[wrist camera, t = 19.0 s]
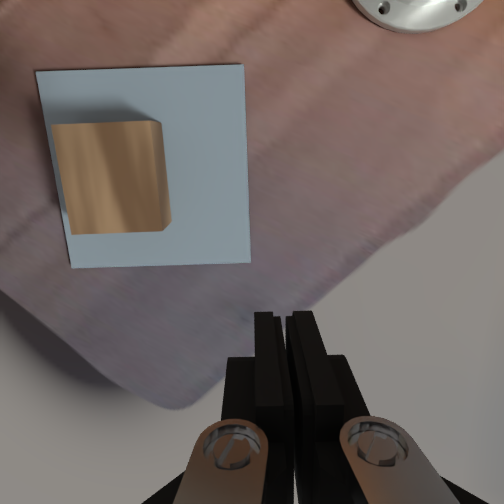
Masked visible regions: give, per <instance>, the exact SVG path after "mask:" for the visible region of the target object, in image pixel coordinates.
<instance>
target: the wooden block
mask: <svg viewBox="0 0 504 504" xmlns="http://www.w3.org/2000/svg"><path fill="white" fill-rule="evenodd" d="M51 128H52V134H53V139H54V145H55V150H56V155H57V161H58V166H59V171H60V177H61V182H62V187H63V193H64V198H65V203H66V209H67V214H68V219H69V225H70V230H71V235H81V234H107V233H132V232H158V231H163V230H164V229H165V228H166V227H167V226H168V225H169V224H170V223H171V222H172V219H171V209H170V200H169V190H168V181H167V171H166V161H165V152H164V142H163V133H162V123H160V122H155V121H127V122H104V123H80V124H56V125H51Z"/></svg>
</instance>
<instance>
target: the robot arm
mask: <svg viewBox="0 0 504 504" xmlns="http://www.w3.org/2000/svg"><path fill="white" fill-rule="evenodd" d="M352 1H353V3H354V4H355V5H356V7H357V8H358V9H359V10H360V11H361V12H362V13H363V14H364V15H365V16H366V17H367V18H368V19H370V20H371V21H372V22H374V23H376V24H378V25H379V26H381V27H383V28H385V29H388V30H392V31H395V32H398V33H408V34H419V33H426V32H432V31H435V30H438V29H440V28H443V27H446V26H448V25H450V24H452V23H453V22H455V21H457V20H459V19H461V18H462V17H464V16H465V15H467V14H468V13H469V12H471V11H472V10H474V9H475V8H476V7H477V6H478V5H479V4H480V3H481V2H482V1H483V0H352ZM455 6H456V7H457V11H456V10H455ZM379 8H381V9H382V10H383V14H380V13H379V11H378V9H379ZM254 328H255V357H228V360H227V369H226V378H225V387H224V396H223V405H222V414H221V421H219V422H216V423H214V424H212V425H211V426H209V427H207V428H206V429H205V430H204V431H203V432H202V433H201V434H200V436H199V438H198V440H197V441H196V443H195V446H194V449H193V451H192V454H191V457H190V459H189V462H188V465H187V467H186V470H185V471H184V472H183V473H181V474H180V475H179V476H178V477H176V478H175V479H173V480H172V481H171V482H170V483H168V484H167V485H166V486H164V487H163V488H162V489H160V490H159V491H158V492H156V493H155V494H154V495H152V496H151V497H150V498H148V499H147V500H146V501H144V502H143V503H142V504H294V472H295V479H296V487H297V495H298V503H299V504H488V503H487V502H485V501H483V500H481V499H480V498H478V497H476V496H474V495H473V494H471V493H469V492H467V491H466V490H464V489H462V488H460V487H459V486H457V485H455V484H453V483H452V482H450V481H448V480H446V479H445V478H443V477H441V476H440V475H439V474H438V473H437V471H436V470H435V469H434V467H433V466H432V465H431V463H430V462H429V460H428V459H427V458H426V456H425V455H424V454H423V452H422V451H421V449H420V448H419V447H418V445H417V444H416V442H415V441H414V440H413V438H412V437H411V436H410V435H409V434H408V433H407V432H406V431H405V430H404V429H403V428H401V427H400V426H398V425H397V424H396V423H394V422H391V421H389V420H387V419H384V418H380V417H375V416H370V413H369V411H368V409H367V406H366V404H365V402H364V399H363V397H362V395H361V392H360V390H359V387H358V385H357V383H356V381H355V378H354V376H353V373H352V371H351V369H350V366H349V364H348V362H347V359H346V357H345V356H344V355H327V353H326V350H325V347H324V344H323V341H322V338H321V335H320V332H319V329H318V326H317V324H316V321H315V318H314V315H313V312H312V311H293V314H292V316H286V350H285V343H284V337H283V331H282V324H281V318H280V316H274V317H273V312H254Z"/></svg>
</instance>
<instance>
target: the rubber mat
mask: <svg viewBox="0 0 504 504" xmlns="http://www.w3.org/2000/svg"><path fill="white" fill-rule="evenodd" d="M36 76H37V82H38V87H39V93H40V98H41V103H42V109H43V114H44V120H45V125H46V131H47V136H48V141H49V147H50V152H51V158H52V163H53V169H54V174H55V179H56V185H57V190H58V196H59V201H60V207H61V212H62V217H63V223H64V228H65V234H66V239H67V245H68V250H69V255H70V261H71V266H72V268H96V267H128V266H159V265H191V264H223V263H251V253H250V224H249V196H248V167H247V138H246V110H245V81H244V64H241V65H213V66H184V67H156V68H127V69H99V70H70V71H42V72H36ZM127 121H155V122H160V123H162V133H163V142H164V152H165V161H166V171H167V181H168V190H169V200H170V209H171V219H172V222H171V223H170V224H169V225H168V226H167V227H166V228H165V229H164V230H163V231H158V232H132V233H107V234H81V235H71V230H70V225H69V219H68V214H67V209H66V203H65V198H64V193H63V187H62V182H61V177H60V171H59V166H58V161H57V155H56V150H55V145H54V139H53V134H52V128H51V125H56V124H80V123H104V122H127Z"/></svg>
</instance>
